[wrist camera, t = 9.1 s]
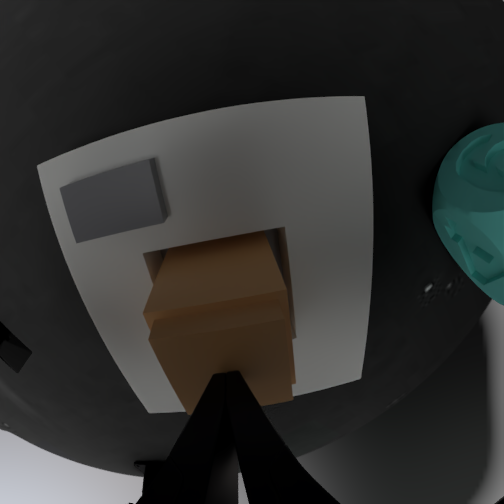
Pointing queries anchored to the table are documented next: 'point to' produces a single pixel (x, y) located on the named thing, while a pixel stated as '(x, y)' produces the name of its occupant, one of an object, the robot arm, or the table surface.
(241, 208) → the socket plate
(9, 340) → the black angular piece
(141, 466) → the robot arm
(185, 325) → the brown block
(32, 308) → the table surface
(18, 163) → the table surface
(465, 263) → the decorative dice
